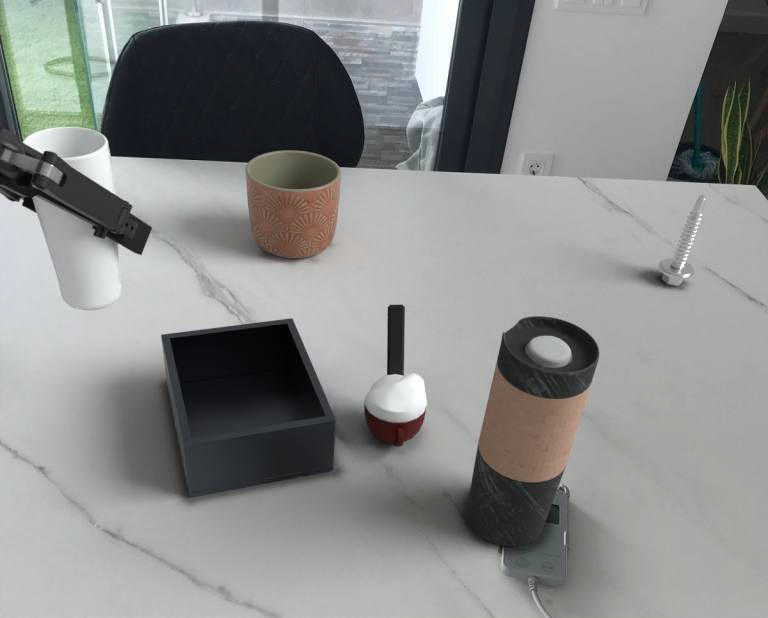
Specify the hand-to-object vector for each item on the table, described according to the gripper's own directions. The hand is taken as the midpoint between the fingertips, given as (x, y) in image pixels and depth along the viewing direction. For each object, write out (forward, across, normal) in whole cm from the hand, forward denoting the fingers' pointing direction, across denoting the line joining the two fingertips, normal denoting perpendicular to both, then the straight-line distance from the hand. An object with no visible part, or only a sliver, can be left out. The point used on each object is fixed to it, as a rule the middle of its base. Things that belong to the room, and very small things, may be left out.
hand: (109, 229), depth 71 cm
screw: (+50, +50, +25) cm, 75 cm away
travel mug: (+13, +41, -12) cm, 45 cm away
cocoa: (+17, +28, -8) cm, 34 cm away
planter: (+37, 0, +12) cm, 39 cm away
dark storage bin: (+12, +14, -13) cm, 23 cm away
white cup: (+2, 0, -6) cm, 7 cm away
